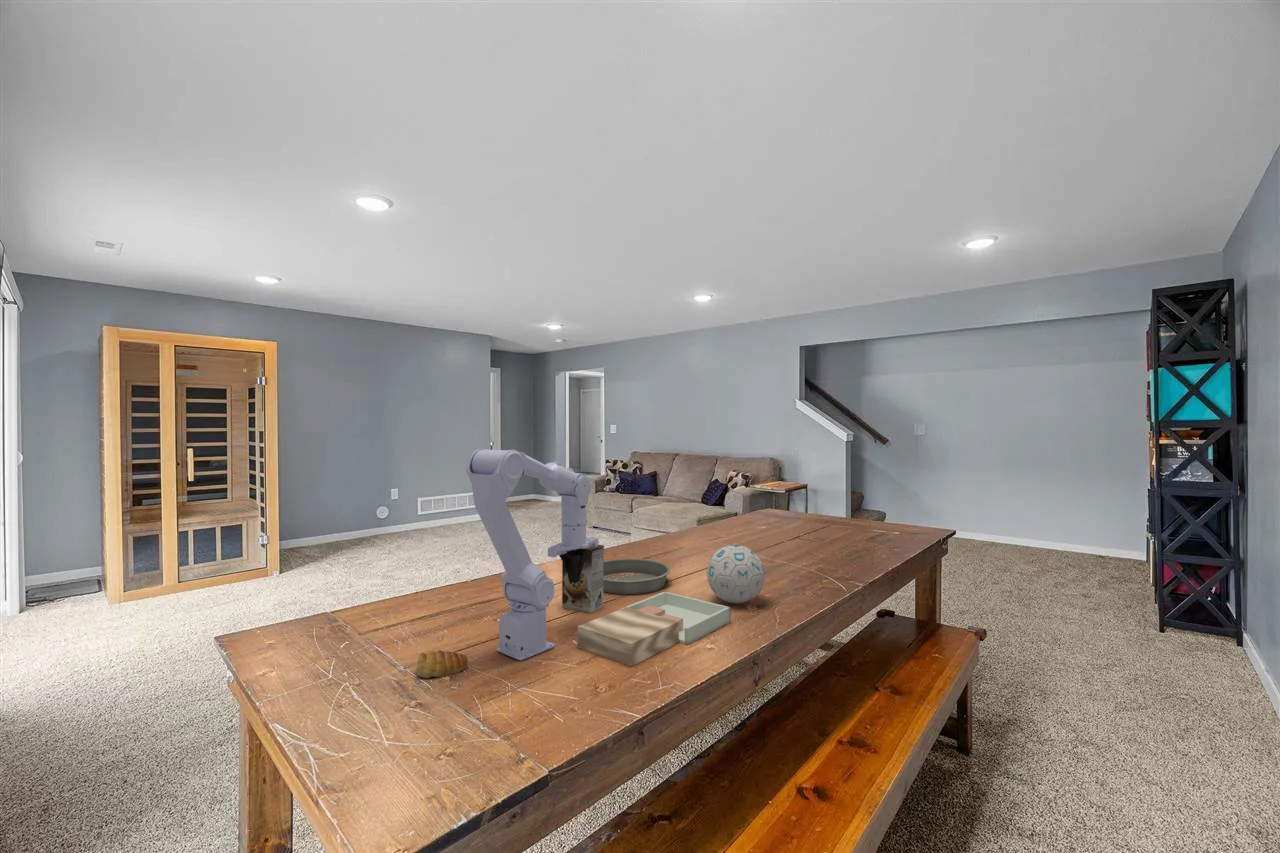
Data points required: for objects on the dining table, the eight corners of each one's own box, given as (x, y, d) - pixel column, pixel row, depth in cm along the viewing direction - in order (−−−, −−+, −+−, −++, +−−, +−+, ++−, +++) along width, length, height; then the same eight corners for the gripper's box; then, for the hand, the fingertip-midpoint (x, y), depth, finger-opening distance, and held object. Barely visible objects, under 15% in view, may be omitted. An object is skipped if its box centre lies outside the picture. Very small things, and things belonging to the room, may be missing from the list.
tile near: (670, 636, 127) (670, 624, 127) (652, 631, 130) (652, 620, 130) (683, 629, 131) (683, 618, 131) (664, 624, 134) (664, 614, 134)
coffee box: (560, 608, 148) (560, 545, 147) (575, 601, 153) (575, 540, 153) (591, 613, 143) (591, 549, 143) (604, 606, 149) (604, 544, 149)
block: (631, 666, 113) (631, 643, 113) (577, 647, 123) (577, 626, 122) (678, 642, 125) (678, 621, 125) (626, 626, 135) (626, 607, 135)
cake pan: (575, 578, 176) (575, 563, 176) (648, 569, 186) (648, 555, 186) (605, 601, 154) (605, 584, 154) (685, 589, 164) (685, 574, 164)
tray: (687, 644, 124) (687, 628, 124) (619, 623, 136) (619, 609, 136) (730, 621, 138) (730, 607, 138) (665, 604, 150) (665, 591, 150)
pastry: (466, 660, 116) (466, 641, 116) (469, 674, 110) (469, 655, 110) (416, 667, 113) (416, 648, 113) (416, 682, 107) (416, 662, 107)
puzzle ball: (775, 607, 149) (776, 549, 148) (724, 614, 143) (725, 554, 143) (744, 590, 163) (744, 537, 162) (696, 596, 157) (697, 541, 157)
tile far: (665, 609, 137) (665, 620, 137) (648, 605, 140) (648, 615, 140) (652, 615, 133) (652, 625, 133) (635, 610, 136) (635, 621, 137)
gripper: (562, 531, 126) (563, 592, 127) (607, 521, 137) (607, 577, 138) (541, 527, 131) (541, 586, 131) (586, 518, 142) (586, 572, 142)
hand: (574, 581), depth 135 cm, fingers closed
